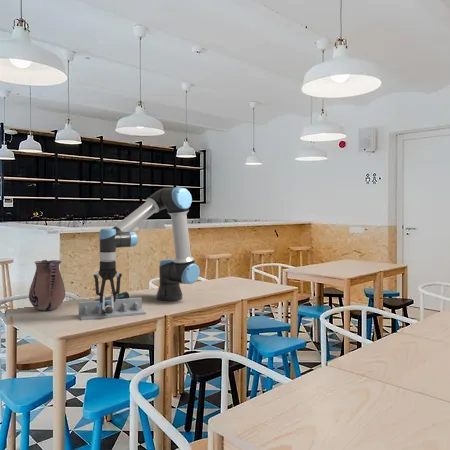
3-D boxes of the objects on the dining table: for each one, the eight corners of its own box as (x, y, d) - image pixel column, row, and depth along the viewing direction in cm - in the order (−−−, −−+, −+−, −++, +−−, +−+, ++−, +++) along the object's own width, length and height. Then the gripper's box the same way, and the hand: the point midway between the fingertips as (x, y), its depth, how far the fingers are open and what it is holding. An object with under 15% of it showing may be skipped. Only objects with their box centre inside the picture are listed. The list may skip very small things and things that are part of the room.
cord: (101, 309, 221) (101, 302, 221) (108, 309, 222) (109, 302, 222) (105, 313, 212) (105, 306, 212) (112, 313, 213) (113, 306, 213)
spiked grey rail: (141, 309, 232) (141, 297, 231) (146, 314, 223) (146, 301, 222) (78, 315, 218) (78, 302, 218) (81, 320, 209) (81, 306, 209)
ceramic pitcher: (56, 303, 244) (56, 258, 243) (74, 310, 229) (74, 261, 228) (23, 308, 232) (23, 260, 231) (40, 316, 217) (39, 264, 216)
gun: (133, 304, 242) (126, 288, 240) (97, 320, 234) (90, 303, 232) (131, 303, 246) (125, 286, 244) (96, 318, 238) (89, 301, 237)
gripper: (123, 259, 222) (123, 305, 222) (88, 260, 215) (88, 308, 216) (126, 260, 215) (126, 309, 216) (91, 262, 208) (91, 312, 209)
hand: (107, 308), depth 216 cm, fingers closed on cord, 3 cm apart
